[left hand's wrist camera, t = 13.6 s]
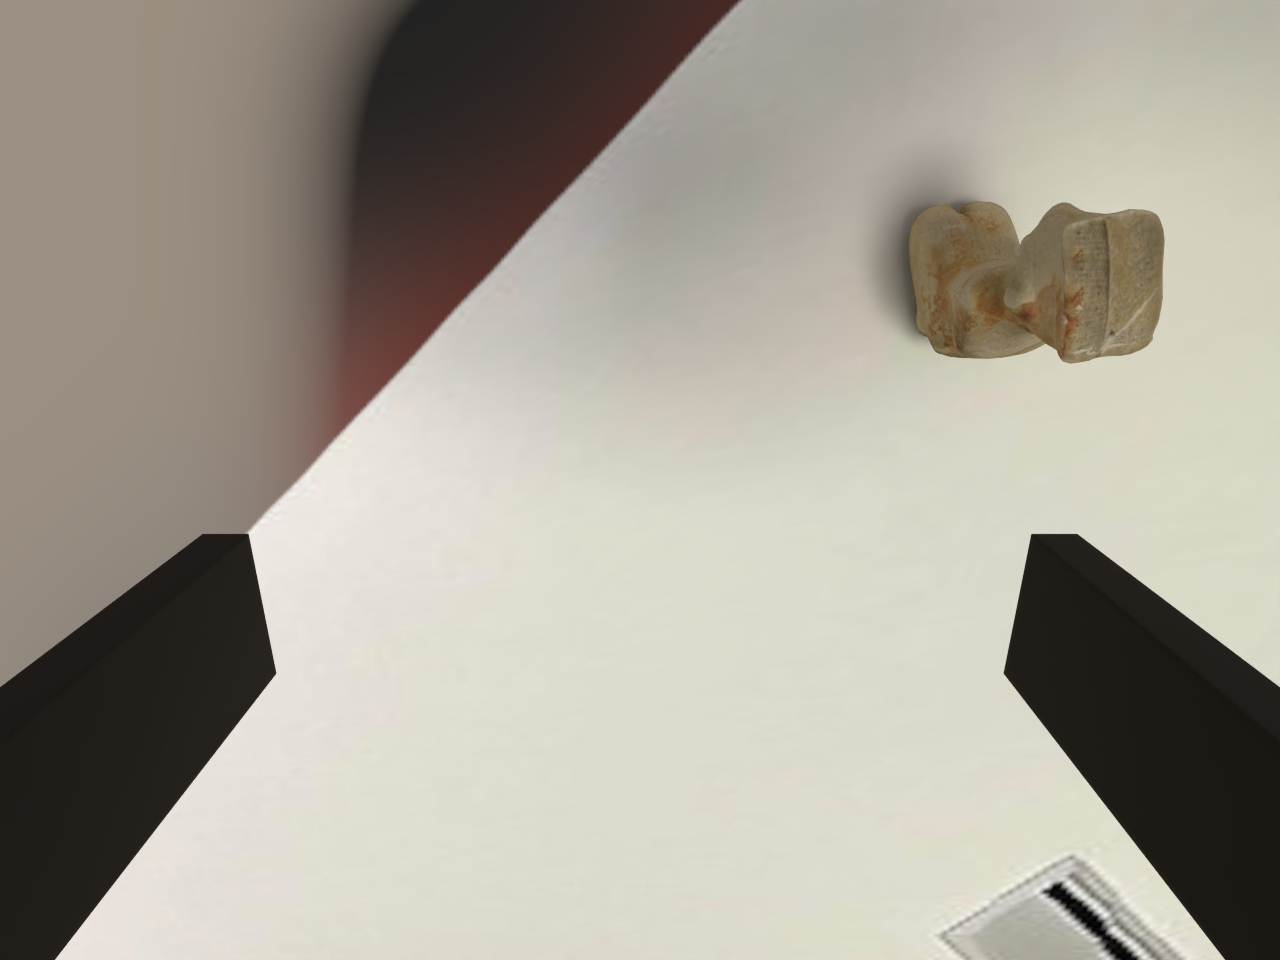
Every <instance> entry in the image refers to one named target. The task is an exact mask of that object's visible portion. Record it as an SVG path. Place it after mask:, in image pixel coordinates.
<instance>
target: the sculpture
mask: <svg viewBox="0 0 1280 960" xmlns="http://www.w3.org/2000/svg"><path fill="white" fill-rule="evenodd" d="M1163 255H1164V232H1163V228H1162V225H1161V222H1160V219H1159V217H1158V216H1157V214H1155V213H1153V212H1150V211H1147V210H1135V209H1128V210H1125V211H1121V212H1117V213H1111V214H1101V213H1090V212H1084V211H1082V210H1080V209H1078V208H1076V207H1075V206H1073V205H1072V204H1069V203H1060V204H1057V205H1055V206H1053V207H1052V208H1051V209H1050V210H1049V211H1048V212H1047V213H1046V214H1045V215H1044V216H1043V218H1042V220H1041V221H1040V223H1039V224H1038V226H1037V227H1036V228H1035V229H1034V230H1033V231H1032V232H1031V233H1030V234H1028V235H1027V236H1026V237H1025V238H1024V239H1023V240H1022V241H1021V245H1020V244H1019V240H1018V237H1017V234H1016V231H1015V229H1014V226H1013V224H1012V221H1011V219H1010V216H1009V215H1008V213H1007V212H1006V210H1005V209H1004V208H1002V207H1001V206H999V205H997V204H995V203H991V202H975V203H972V204H966V205H964V206H963V207H962V209H961V211H960V213H958V212H957V211H955V210H954V209H953V208H952V207H951V206H949V205H938V206H933V207H930V208H928V209H926V210H925V211H923V212H922V213H921V214H920V215H919V216H918V217H917V218H916V220H915V222H914V224H913V226H912V229H911V232H910V237H909V257H910V266H911V274H912V281H913V287H914V292H915V297H916V303H917V314H916V317H915V318H916V324H917V328H918V330H919V332H920V333H922V334H923V335H925V336H927V337H928V338H929V341H930V343H931V345H932V347H933V349H934V350H935V351H936V352H937V353H939V354H943V355H946V356H950V357H958V358H984V359H990V358H1001V357H1008V356H1013V355H1019V354H1023V353H1027V352H1029V351H1032V350H1034V349H1036V348H1038V347H1040V346H1042V345H1044V344H1047V345H1049V346H1051V347H1053V348H1054V349H1056V350H1057V352H1058V355H1059V357H1060V359H1061V360H1062V361H1063V362H1067V363H1078V362H1083V361H1089V360H1091V359H1094V358H1098V357H1105V356H1121V355H1127V354H1131V353H1134V352H1137V351H1139V350H1141V349H1143V348H1144V347H1146V346H1147V345H1148V344H1149V343H1150V342H1151V341H1152V340H1153V333H1154V330H1155V328H1156V326H1157V323H1158V320H1159V316H1160V311H1161V305H1162V298H1163Z"/></svg>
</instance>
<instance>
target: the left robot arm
mask: <svg viewBox="0 0 1280 960" xmlns="http://www.w3.org/2000/svg"><path fill="white" fill-rule="evenodd" d="M275 675H276V669H275V664H274V659H273V654H272V649H271V644H270V639H269V634H268V629H267V624H266V619H265V614H264V609H263V604H262V599H261V594H260V589H259V584H258V579H257V574H256V569H255V564H254V559H253V554H252V549H251V544H250V539H249V534H202V535H201V536H200V537H198V538H197V539H196V540H194V541H193V542H192V543H190V544H189V545H188V546H186V547H185V548H184V549H182V550H181V551H180V552H178V553H177V554H176V555H175V556H173V557H172V558H171V559H169V560H168V561H167V562H165V563H164V564H163V565H161V566H160V567H159V568H157V569H156V570H155V571H153V572H152V573H151V574H149V575H148V576H147V577H145V578H144V579H143V580H141V581H140V582H139V583H137V584H136V585H135V586H133V587H132V588H131V589H130V590H128V591H127V592H126V593H124V594H123V595H122V596H120V597H119V598H118V599H116V600H115V601H114V602H112V603H111V604H110V605H108V606H107V607H106V608H104V609H103V610H102V611H100V612H99V613H98V614H96V615H95V616H94V617H92V618H91V619H90V620H89V621H87V622H86V623H85V624H83V625H82V626H81V627H79V628H78V629H77V630H75V631H74V632H73V633H71V634H70V635H69V636H67V637H66V638H65V639H63V640H62V641H61V642H59V643H58V644H57V645H55V646H54V647H53V648H52V649H50V650H49V651H48V652H46V653H45V654H44V655H42V656H41V657H40V658H38V659H37V660H36V661H34V662H33V663H32V664H30V665H29V666H28V667H26V668H25V669H24V670H22V671H21V672H20V673H18V674H17V675H16V676H15V677H13V678H12V679H11V680H9V681H8V682H7V683H5V684H4V685H3V686H1V687H0V960H55V959H56V958H57V956H58V955H59V954H60V952H61V951H62V950H63V949H64V947H65V946H66V945H67V943H68V942H69V941H70V940H71V938H72V937H73V936H74V934H75V933H76V932H77V930H78V929H79V928H80V927H81V925H82V924H83V923H84V921H85V920H86V919H87V918H88V916H89V915H90V914H91V912H92V911H93V910H94V908H95V907H96V906H97V905H98V903H99V902H100V901H101V899H102V898H103V897H104V896H105V894H106V893H107V892H108V890H109V889H110V888H111V887H112V885H113V884H114V883H115V881H116V880H117V879H118V877H119V876H120V875H121V874H122V872H123V871H124V870H125V868H126V867H127V866H128V865H129V863H130V862H131V861H132V859H133V858H134V857H135V855H136V854H137V853H138V852H139V850H140V849H141V848H142V846H143V845H144V844H145V843H146V841H147V840H148V839H149V837H150V836H151V835H152V834H153V832H154V831H155V830H156V828H157V827H158V826H159V824H160V823H161V822H162V821H163V819H164V818H165V817H166V815H167V814H168V813H169V812H170V810H171V809H172V808H173V806H174V805H175V804H176V803H177V801H178V800H179V799H180V797H181V796H182V795H183V793H184V792H185V791H186V790H187V788H188V787H189V786H190V784H191V783H192V782H193V781H194V779H195V778H196V777H197V775H198V774H199V773H200V771H201V770H202V769H203V768H204V766H205V765H206V764H207V762H208V761H209V760H210V759H211V757H212V756H213V755H214V753H215V752H216V751H217V750H218V748H219V747H220V746H221V744H222V743H223V742H224V740H225V739H226V738H227V737H228V735H229V734H230V733H231V731H232V730H233V729H234V728H235V726H236V725H237V724H238V722H239V721H240V720H241V718H242V717H243V716H244V715H245V713H246V712H247V711H248V709H249V708H250V707H251V706H252V704H253V703H254V702H255V700H256V699H257V698H258V697H259V695H260V694H261V693H262V691H263V690H264V689H265V687H266V686H267V685H268V684H269V682H270V681H271V680H272V678H273V677H274V676H275ZM1004 675H1005V676H1006V677H1007V678H1008V680H1009V681H1010V682H1011V684H1012V685H1013V686H1014V687H1015V689H1016V690H1017V691H1018V693H1019V694H1020V695H1021V697H1022V698H1023V699H1024V700H1025V702H1026V703H1027V704H1028V706H1029V707H1030V708H1031V709H1032V711H1033V712H1034V713H1035V715H1036V716H1037V717H1038V718H1039V720H1040V721H1041V722H1042V724H1043V725H1044V726H1045V728H1046V729H1047V730H1048V731H1049V733H1050V734H1051V735H1052V737H1053V738H1054V739H1055V740H1056V742H1057V743H1058V744H1059V746H1060V747H1061V748H1062V750H1063V751H1064V752H1065V753H1066V755H1067V756H1068V757H1069V759H1070V760H1071V761H1072V762H1073V764H1074V765H1075V766H1076V768H1077V769H1078V770H1079V771H1080V773H1081V774H1082V775H1083V777H1084V778H1085V779H1086V781H1087V782H1088V783H1089V784H1090V786H1091V787H1092V788H1093V790H1094V791H1095V792H1096V793H1097V795H1098V796H1099V797H1100V799H1101V800H1102V801H1103V803H1104V804H1105V805H1106V806H1107V808H1108V809H1109V810H1110V812H1111V813H1112V814H1113V815H1114V817H1115V818H1116V819H1117V821H1118V822H1119V823H1120V824H1121V826H1122V827H1123V828H1124V830H1125V831H1126V832H1127V834H1128V835H1129V836H1130V837H1131V839H1132V840H1133V841H1134V843H1135V844H1136V845H1137V846H1138V848H1139V849H1140V850H1141V852H1142V853H1143V854H1144V855H1145V857H1146V858H1147V859H1148V861H1149V862H1150V863H1151V865H1152V866H1153V867H1154V868H1155V870H1156V871H1157V872H1158V874H1159V875H1160V876H1161V877H1162V879H1163V880H1164V881H1165V883H1166V884H1167V885H1168V887H1169V888H1170V889H1171V890H1172V892H1173V893H1174V894H1175V896H1176V897H1177V898H1178V899H1179V901H1180V902H1181V903H1182V905H1183V906H1184V907H1185V908H1186V910H1187V911H1188V912H1189V914H1190V915H1191V916H1192V918H1193V919H1194V920H1195V921H1196V923H1197V924H1198V925H1199V927H1200V928H1201V929H1202V930H1203V932H1204V933H1205V934H1206V936H1207V937H1208V938H1209V940H1210V941H1211V942H1212V943H1213V945H1214V946H1215V947H1216V949H1217V950H1218V951H1219V952H1220V954H1221V955H1222V956H1223V958H1224V959H1225V960H1280V687H1279V686H1277V685H1276V684H1275V683H1273V682H1272V681H1271V680H1269V679H1268V678H1267V677H1266V676H1264V675H1263V674H1262V673H1260V672H1259V671H1258V670H1256V669H1255V668H1254V667H1252V666H1251V665H1250V664H1248V663H1247V662H1246V661H1244V660H1243V659H1242V658H1240V657H1239V656H1238V655H1236V654H1235V653H1234V652H1232V651H1231V650H1230V649H1229V648H1227V647H1226V646H1225V645H1223V644H1222V643H1221V642H1219V641H1218V640H1217V639H1215V638H1214V637H1213V636H1211V635H1210V634H1209V633H1207V632H1206V631H1205V630H1203V629H1202V628H1201V627H1199V626H1198V625H1197V624H1195V623H1194V622H1193V621H1191V620H1190V619H1189V618H1188V617H1186V616H1185V615H1184V614H1182V613H1181V612H1180V611H1178V610H1177V609H1176V608H1174V607H1173V606H1172V605H1170V604H1169V603H1168V602H1166V601H1165V600H1164V599H1162V598H1161V597H1160V596H1158V595H1157V594H1156V593H1154V592H1153V591H1152V590H1150V589H1149V588H1148V587H1147V586H1145V585H1144V584H1143V583H1141V582H1140V581H1139V580H1137V579H1136V578H1135V577H1133V576H1132V575H1131V574H1129V573H1128V572H1127V571H1125V570H1124V569H1123V568H1121V567H1120V566H1119V565H1117V564H1116V563H1115V562H1113V561H1112V560H1111V559H1109V558H1108V557H1107V556H1106V555H1104V554H1103V553H1102V552H1100V551H1099V550H1098V549H1096V548H1095V547H1094V546H1092V545H1091V544H1090V543H1088V542H1087V541H1086V540H1084V539H1083V538H1082V537H1080V536H1079V535H1078V534H1031V539H1030V544H1029V549H1028V554H1027V559H1026V564H1025V569H1024V574H1023V579H1022V584H1021V589H1020V594H1019V599H1018V604H1017V609H1016V614H1015V619H1014V624H1013V629H1012V634H1011V639H1010V644H1009V649H1008V654H1007V659H1006V664H1005V669H1004Z"/></svg>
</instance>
